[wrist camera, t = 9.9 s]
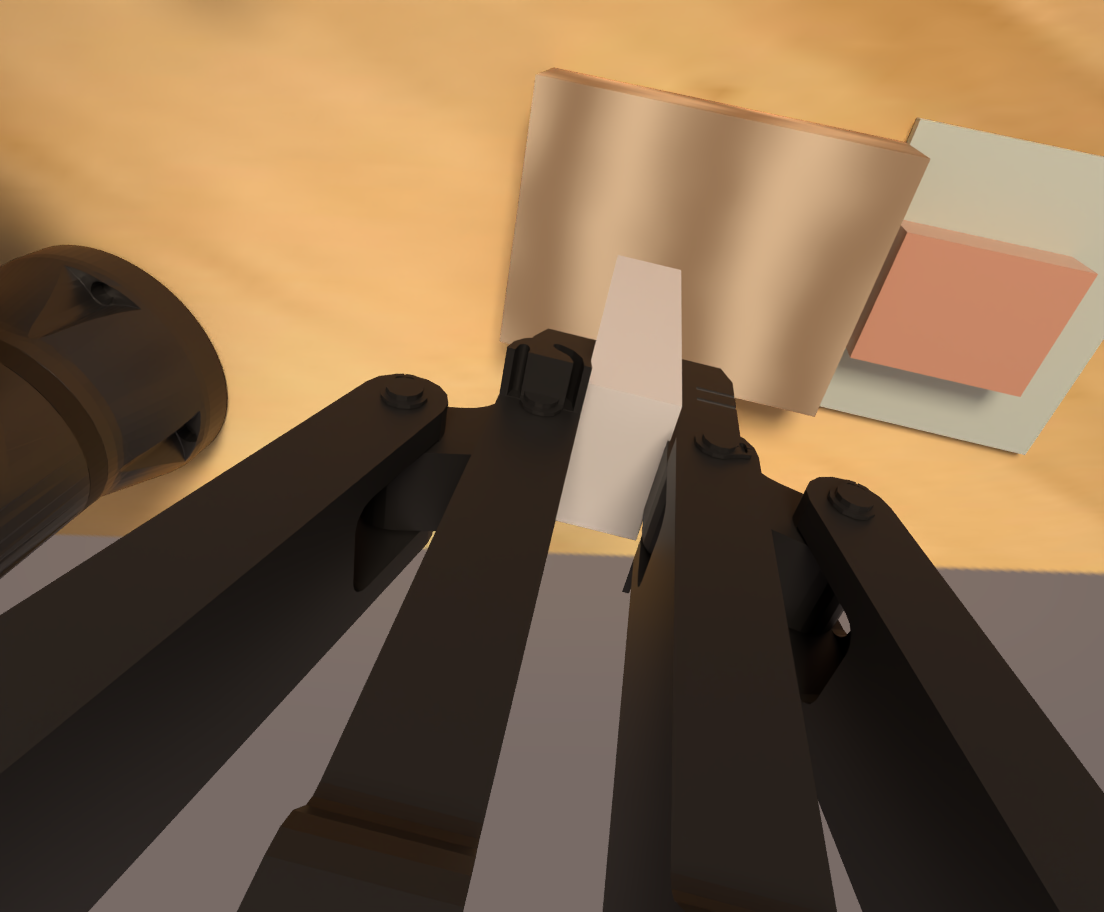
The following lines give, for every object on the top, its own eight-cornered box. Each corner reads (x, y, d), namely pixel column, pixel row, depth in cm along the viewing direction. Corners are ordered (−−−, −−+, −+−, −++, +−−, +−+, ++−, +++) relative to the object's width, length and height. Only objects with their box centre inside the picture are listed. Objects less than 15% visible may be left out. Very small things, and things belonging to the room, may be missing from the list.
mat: (798, 396, 38) (799, 401, 37) (917, 117, 30) (920, 119, 29) (1020, 449, 37) (1025, 455, 36) (1202, 177, 29) (1211, 180, 29)
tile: (841, 337, 35) (850, 357, 33) (894, 217, 32) (907, 232, 29) (1001, 373, 34) (1020, 397, 32) (1072, 256, 31) (1098, 274, 29)
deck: (517, 312, 38) (499, 341, 35) (553, 67, 31) (535, 74, 28) (805, 380, 37) (814, 416, 34) (906, 142, 30) (930, 158, 27)
